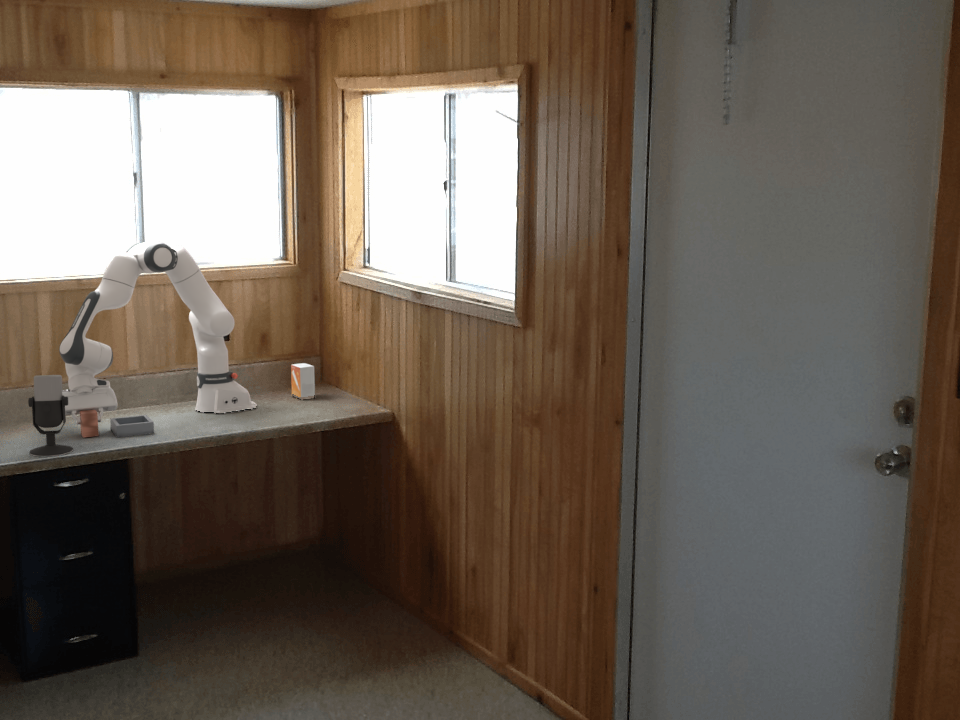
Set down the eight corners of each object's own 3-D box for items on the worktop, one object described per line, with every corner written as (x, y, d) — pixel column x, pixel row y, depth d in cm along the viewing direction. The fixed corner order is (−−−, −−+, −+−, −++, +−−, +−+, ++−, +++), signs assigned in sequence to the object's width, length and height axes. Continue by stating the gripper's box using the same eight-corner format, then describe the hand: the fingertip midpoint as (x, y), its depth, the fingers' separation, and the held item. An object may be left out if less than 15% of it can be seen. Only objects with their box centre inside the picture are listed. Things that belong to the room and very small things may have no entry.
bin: (146, 426, 398) (146, 414, 397) (154, 433, 387) (153, 422, 386) (110, 429, 392) (110, 418, 391) (117, 437, 381) (116, 425, 381)
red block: (96, 432, 387) (95, 409, 385) (98, 435, 382) (97, 412, 381) (80, 434, 384) (79, 411, 383) (83, 437, 380) (81, 414, 378)
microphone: (75, 445, 370) (71, 370, 366) (69, 456, 358) (64, 377, 353) (33, 447, 368) (28, 371, 363) (26, 457, 355) (20, 379, 351)
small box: (291, 397, 446) (290, 364, 444) (306, 395, 450) (305, 362, 447) (300, 400, 439) (300, 367, 437) (315, 398, 443) (314, 365, 441)
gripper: (51, 386, 382) (56, 420, 375) (114, 380, 391) (120, 414, 384) (50, 396, 387) (56, 430, 380) (112, 390, 396) (119, 424, 389)
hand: (89, 422), depth 382 cm, fingers closed on red block, 5 cm apart
